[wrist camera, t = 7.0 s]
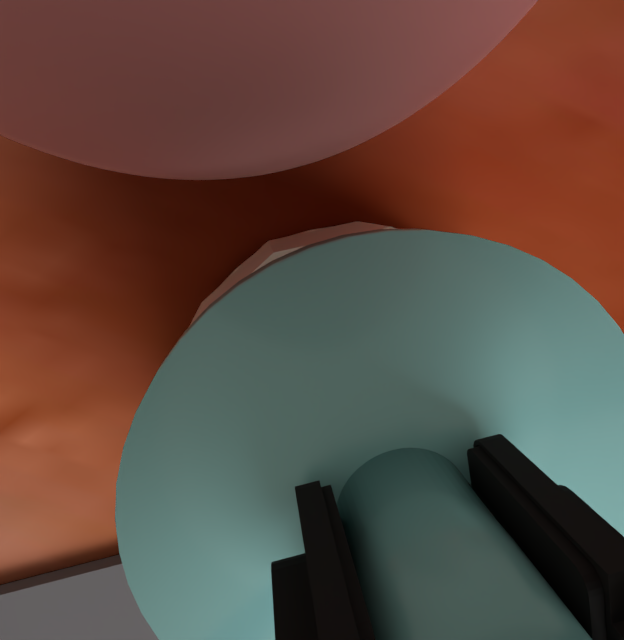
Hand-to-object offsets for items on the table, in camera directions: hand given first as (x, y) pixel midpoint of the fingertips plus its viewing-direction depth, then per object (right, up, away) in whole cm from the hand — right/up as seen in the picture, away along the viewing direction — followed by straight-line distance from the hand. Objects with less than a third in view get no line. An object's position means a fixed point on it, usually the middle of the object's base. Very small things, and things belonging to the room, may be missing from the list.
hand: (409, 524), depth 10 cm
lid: (0, 0, +1) cm, 1 cm away
